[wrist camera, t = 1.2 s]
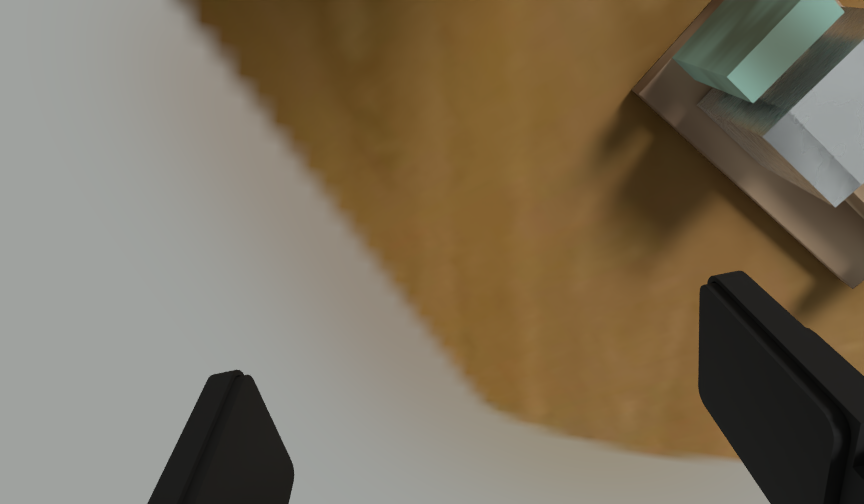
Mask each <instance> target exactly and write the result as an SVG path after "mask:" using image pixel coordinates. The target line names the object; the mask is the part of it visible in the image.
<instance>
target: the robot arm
mask: <svg viewBox="0 0 864 504" xmlns="http://www.w3.org/2000/svg"><path fill="white" fill-rule="evenodd" d="M698 387H699V394H700V397H701V399H702V402H703V404H704V405H705V407H706V409H707V410H708V412H709V413H710V414H711V416H712V417H713V419H714V420H715V422H716V423H717V425H718V426H719V428H720V429H721V431H722V432H723V434H724V435H725V437H726V438H727V440H728V441H729V443H730V444H731V446H732V447H733V449H734V450H735V452H736V453H737V455H738V456H739V457H740V459H741V460H742V462H743V463H744V465H745V466H746V468H747V469H748V471H749V472H750V474H751V475H752V477H753V478H754V480H755V481H756V483H757V484H758V486H759V487H760V488H761V490H762V492H763V493H764V494H765V496H766V498H767V499H768V500H769V502H770V503H771V504H864V376H863V375H862V374H861V373H860V372H859V371H857V370H856V369H855V368H854V367H853V366H852V365H851V364H850V363H849V362H847V361H846V360H845V359H844V358H843V357H842V356H841V355H840V354H839V353H837V352H836V351H835V350H834V349H833V348H832V347H831V346H830V345H829V344H827V343H826V342H825V341H824V340H823V339H822V338H821V337H820V336H819V335H817V334H816V333H815V332H813V331H812V330H811V329H809V328H805V327H804V326H803V325H802V324H801V323H800V322H799V321H798V320H796V319H795V318H794V317H793V316H792V315H791V314H790V313H789V312H788V311H787V310H785V309H784V308H783V307H782V306H781V305H780V304H779V303H778V302H777V301H776V300H774V299H773V298H772V297H771V296H770V295H769V294H768V293H767V292H766V291H765V290H763V289H762V288H761V287H760V286H759V285H758V284H757V283H756V282H755V281H754V280H752V279H751V278H750V277H749V276H748V275H747V274H746V273H744V272H743V271H735V272H730V273H725V274H719V275H714V276H711V277H710V278H709V279H708V283H707V284H706V285H702V286H701V288H700V307H699V377H698ZM293 481H294V468H293V464H292V461H291V459H290V457H289V455H288V453H287V450H286V448H285V446H284V444H283V442H282V440H281V438H280V436H279V433H278V431H277V429H276V427H275V425H274V422H273V420H272V418H271V416H270V414H269V412H268V410H267V408H266V405H265V403H264V401H263V399H262V397H261V395H260V392H259V391H258V388H257V386H256V384H255V382H254V380H253V378H252V377H251V376H250V375H244V374H243V372H241V371H240V370H234V371H229V372H224V373H219V374H214V375H211V376H210V377H209V378H208V380H207V382H206V384H205V386H204V388H203V391H202V392H201V395H200V397H199V399H198V401H197V403H196V405H195V407H194V409H193V411H192V413H191V415H190V417H189V419H188V421H187V423H186V425H185V428H184V430H183V432H182V434H181V436H180V438H179V440H178V442H177V444H176V446H175V448H174V450H173V452H172V455H171V456H170V458H169V460H168V462H167V465H166V467H165V469H164V471H163V473H162V475H161V477H160V479H159V481H158V483H157V485H156V487H155V489H154V491H153V493H152V495H151V497H150V500H149V502H148V504H288V503H289V499H290V495H291V490H292V486H293Z"/></svg>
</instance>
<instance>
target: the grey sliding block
mask: <svg viewBox="0 0 864 504" xmlns="http://www.w3.org/2000/svg"><path fill="white" fill-rule="evenodd" d="M840 7H841V8H842V10H843V11H844V13H843V14H842V15H841V16H840V17H839V18H838V19H837V20H836V21H835V22H834V23H833V24H832V25H831V26H830V27H829V28H828V29H827V30H826V31H825V32H824V33H823V34H822V35H821V36H820V37H819V38H818V39H817V40H816V41H815V42H814V43H813V44H812V45H811V46H810V47H809V48H808V49H807V50H806V51H805V52H804V53H803V54H802V55H801V56H800V57H799V58H798V59H797V60H796V61H795V62H794V63H793V64H792V65H791V66H790V67H789V68H788V69H787V70H786V71H785V72H784V73H783V74H782V75H781V76H780V77H779V78H778V79H777V80H776V81H775V82H774V83H773V84H772V85H771V86H770V87H769V88H768V89H767V90H766V91H765V92H764V93H763V94H762V95H761V96H760V97H759V98H758V99H757V100H756V101H755V102H754V103H751V102H749V101H746V100H744V99H741V98H739V97H736V96H734V95H731V94H729V93H726V92H724V91H721V90H719V89H716V88H714V87H713V88H712V89H711V90H710V91H709V92H708V93H707V94H706V95H705V96H704V98H703V99H702V100H701V101H700V102H699V103H698V104H697V106H698V107H699V108H701V109H702V110H703V111H704V112H705V113H706V114H707V115H708V116H709V117H710V118H711V119H712V120H713V121H714V122H715V123H716V124H717V125H719V126H720V127H721V128H722V129H723V130H724V131H725V132H726V133H727V134H728V135H729V136H730V137H731V138H732V139H733V140H734V141H735V142H736V143H738V144H739V145H740V146H741V147H742V148H743V149H744V150H745V151H746V152H747V153H748V154H749V155H750V156H751V157H752V158H753V159H754V160H756V161H757V162H758V163H759V164H760V165H761V166H763V167H765V168H767V169H768V170H770V171H772V172H774V173H775V174H777V175H779V176H781V177H782V178H784V179H786V180H788V181H789V182H791V183H793V184H795V185H797V186H798V187H800V188H802V189H804V190H805V191H807V192H809V193H811V194H812V195H814V196H816V197H818V198H819V199H821V200H823V201H825V202H827V203H828V204H830V205H832V206H834V207H837V206H838V205H839V204H840V203H841V202H842V201H844V200H845V199H846V198H847V197H848V196H849V195H850V194H852V193H853V192H854V191H855V190H856V189H857V188H859V187H860V186H861V185H862V184H863V183H864V9H863V8H853V7H842V6H840Z"/></svg>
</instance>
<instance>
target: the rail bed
mask: <svg viewBox="0 0 864 504" xmlns="http://www.w3.org/2000/svg"><path fill="white" fill-rule="evenodd" d="M840 6H842V7H843V5H842V4H841V3H840V2H839V1H838V0H712V1H711V2H710V3H709V4H708V5H707V7H706V8H705V9H704V10H703V11H702V12H701V13H700V14H699V15H698V17H697V18H696V19H695V20H694V21H693V22H692V23H691V24H690V25H689V27H688V28H687V29H686V30H685V31H684V32H683V33H682V34H681V35H680V37H679V38H678V39H677V40H676V41H675V42H674V43H673V44H672V45H671V47H670V48H669V49H668V50H667V51H666V52H665V53H664V54H663V55H662V57H661V58H660V59H659V60H658V61H657V62H656V63H655V64H654V65H653V66H652V68H651V69H650V70H649V71H648V72H647V73H646V74H645V75H644V76H643V78H642V79H641V80H640V81H639V82H638V83H637V84H636V85H635V86H634V88H633V89H632V91H633V92H634V93H635V94H636V95H637V96H639V97H640V98H641V99H642V100H643V101H644V102H645V103H646V104H647V105H648V106H650V107H651V108H652V109H653V110H654V111H655V112H656V113H657V114H658V115H660V116H661V117H662V118H663V119H664V120H665V121H666V122H667V123H668V124H669V125H671V126H672V127H673V128H674V129H675V130H676V131H677V132H678V133H679V134H680V135H682V136H683V137H684V138H685V139H686V140H687V141H688V142H689V143H690V144H691V145H693V146H694V147H695V148H696V149H697V150H698V151H699V152H700V153H701V154H702V155H704V156H705V157H706V158H707V159H708V160H709V161H710V162H711V163H712V164H713V165H715V166H716V167H717V168H718V169H719V170H720V171H721V172H722V173H723V174H724V175H726V176H727V177H728V178H729V179H730V180H731V181H732V182H733V183H734V184H736V185H737V186H738V187H739V188H740V189H741V190H742V191H743V192H744V193H745V194H747V195H748V196H749V197H750V198H751V199H752V200H753V201H754V202H755V203H756V204H758V205H759V206H760V207H761V208H762V209H763V210H764V211H765V212H766V213H767V214H769V215H770V216H771V217H772V218H773V219H774V220H775V221H776V222H777V223H778V224H780V225H781V226H782V227H783V228H784V229H785V230H786V231H787V232H788V233H789V234H791V235H792V236H793V237H794V238H795V239H796V240H797V241H798V242H799V243H800V244H802V245H803V246H804V247H805V248H806V249H807V250H808V251H809V252H810V253H812V254H813V255H814V256H815V257H816V258H817V259H818V260H819V261H820V262H821V263H823V264H824V265H825V266H826V267H827V268H828V269H829V270H830V271H831V272H832V273H834V274H835V275H836V276H837V277H838V278H839V279H840V280H841V281H843V282H844V283H845V284H847V285H848V286H850V287H851V288H852V289H853V288H855V287H856V286H857V285H858V284H860V283H861V282H862V281H864V183H863V184H862V185H861V186H860V187H859V188H857V189H856V190H855V191H854V192H853V193H852V194H850V195H849V196H848V197H847V198H846V199H845V200H844V201H842V202H841V203H840V204H839V205H838V206H837V207H834V206H832V205H830V204H828V203H827V202H825V201H823V200H821V199H819V198H818V197H816V196H814V195H812V194H811V193H809V192H807V191H805V190H804V189H802V188H800V187H798V186H797V185H795V184H793V183H791V182H789V181H788V180H786V179H784V178H782V177H781V176H779V175H777V174H775V173H774V172H772V171H770V170H768V169H767V168H765V167H763V166H761V165H760V164H759V163H758V162H757V161H756V160H754V159H753V158H752V157H751V156H750V155H749V154H748V153H747V152H746V151H745V150H744V149H743V148H742V147H741V146H740V145H739V144H738V143H736V142H735V141H734V140H733V139H732V138H731V137H730V136H729V135H728V134H727V133H726V132H725V131H724V130H723V129H722V128H721V127H720V126H719V125H717V124H716V123H715V122H714V121H713V120H712V119H711V118H710V117H709V116H708V115H707V114H706V113H705V112H704V111H703V110H702V109H701V108H699V107H698V106H697V104H698V103H699V102H700V101H701V100H702V99H703V98H704V96H705V95H706V94H707V93H708V92H709V91H710V90H711V89H712V88H713V87H714V88H716V89H719V90H721V91H724V92H726V93H729V94H731V95H734V96H736V97H739V98H741V99H744V100H746V101H749V102H751V103H754V102H755V101H756V100H757V99H758V98H759V97H760V96H761V95H762V94H763V93H764V92H765V91H766V90H767V89H768V88H769V87H770V86H771V85H772V84H773V83H774V82H775V81H776V80H777V79H778V78H779V77H780V76H781V75H782V74H783V73H784V72H785V71H786V70H787V69H788V68H789V67H790V66H791V65H792V64H793V63H794V62H795V61H796V60H797V59H798V58H799V57H800V56H801V55H802V54H803V53H804V52H805V51H806V50H807V49H808V48H809V47H810V46H811V45H812V44H813V43H814V42H815V41H816V40H817V39H818V38H819V37H820V36H821V35H822V34H823V33H824V32H825V31H826V30H827V29H828V28H829V27H830V26H831V25H832V24H833V23H834V22H835V21H836V20H837V19H838V18H839V17H840V16H841V15H842V14H843V13H844V11H843V10H842V8H841V7H840Z"/></svg>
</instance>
